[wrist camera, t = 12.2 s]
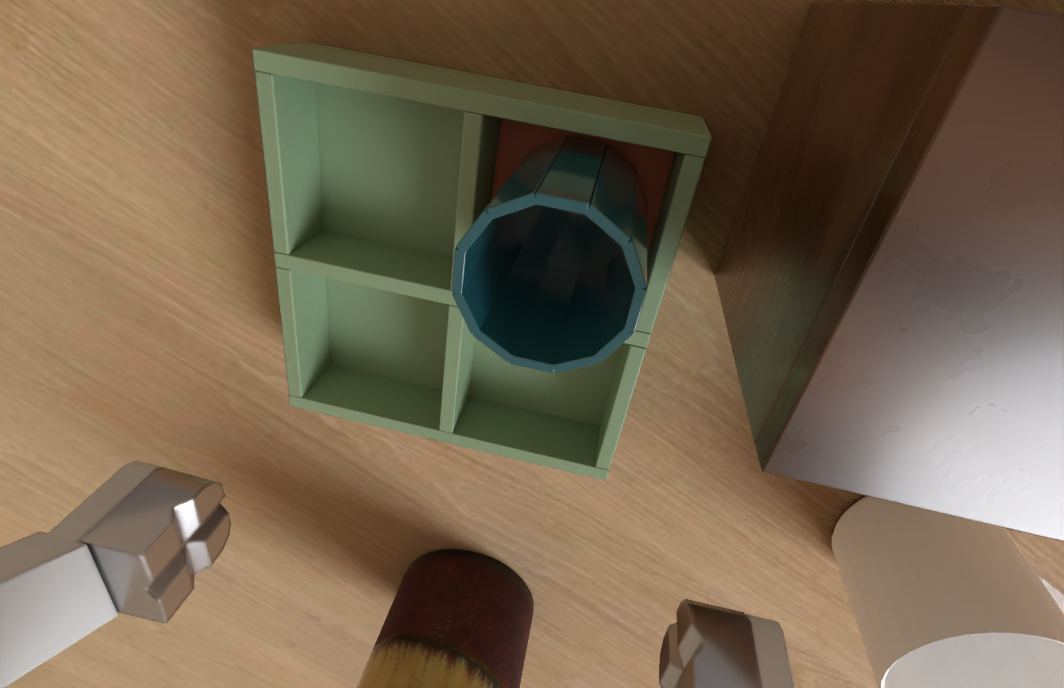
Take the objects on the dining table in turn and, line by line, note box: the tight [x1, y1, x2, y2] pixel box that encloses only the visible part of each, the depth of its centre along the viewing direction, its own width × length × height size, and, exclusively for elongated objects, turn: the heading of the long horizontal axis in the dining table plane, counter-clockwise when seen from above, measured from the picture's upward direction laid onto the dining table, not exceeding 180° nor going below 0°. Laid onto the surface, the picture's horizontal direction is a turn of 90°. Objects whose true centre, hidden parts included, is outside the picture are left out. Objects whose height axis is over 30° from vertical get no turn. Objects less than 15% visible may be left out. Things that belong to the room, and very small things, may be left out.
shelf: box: [715, 2, 1064, 541], centre depth 19 cm, size 12×12×14 cm
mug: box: [832, 496, 1064, 688], centre depth 31 cm, size 12×9×9 cm
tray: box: [252, 42, 712, 480], centre depth 29 cm, size 18×18×4 cm
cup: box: [452, 135, 647, 373], centre depth 23 cm, size 7×7×9 cm
